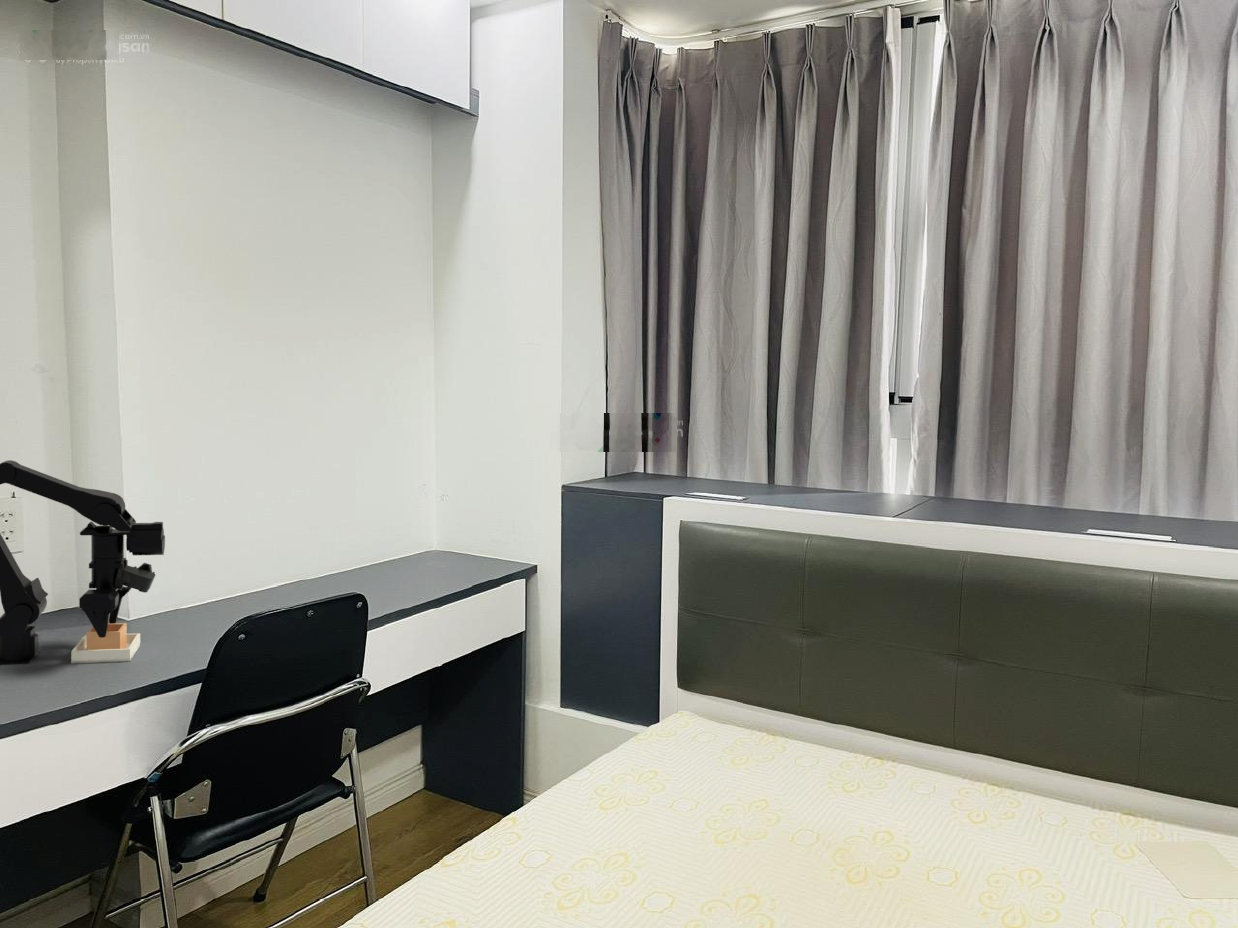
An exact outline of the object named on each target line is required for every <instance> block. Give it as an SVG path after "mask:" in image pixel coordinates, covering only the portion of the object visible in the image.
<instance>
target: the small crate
mask: <svg viewBox="0 0 1238 928" xmlns="http://www.w3.org/2000/svg"><path fill="white" fill-rule="evenodd" d="M127 625H128V623H126V622H125V623H123V622H122V623H120V622H119V623H118V622H116V623H114V624H110V623H108V628H107V633H106V637H103V638H100V637H99V636H98V634H97V632H96V631H95V629H94V627H93V625H92V626H90V628H89V630H88V631H87V632H86V635H87V650H103V649H125V648H126V646H127V634H128V633H127V631H128V630H127V629H128V628H127V627H128V626H127Z"/></svg>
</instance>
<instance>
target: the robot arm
mask: <svg viewBox="0 0 1238 928" xmlns="http://www.w3.org/2000/svg"><path fill="white" fill-rule="evenodd" d="M3 484H8V485H11V486H13V487H16V488H19V489H21V490H24V491H27V492H30V493H31V494H35V495H38V496H41V497H43V498H45V499H48V500H51V501H54V502H57V503H59V504H62V505H65V506H67V507H69V508H71V509H73V510H74V511H75V512H77V513H79V514H80V515H81V516H82V517H84V518H86V519H88V520H90V521H89V522H88V523H87V525H86V526H85V527H84V528H82V530H81V531H80V532H79V535H80V536H90V537H91V542H90V543H91V548H90V549H91V550H90V551H91V556H90V557H91V561H90V562H89V563H88V569H91V581H90V582H89V583H88V589H87V591H86V592H84V594H82V595H81V596H80V597H79V603H78V604H79V605H78V606H79V607H78V608H79V609H81V611H82V612H84V614H85V615H86V617H87V618H88V620H89V621H90V624H91V625H92V626H93V627H94V629H95V631H96V632H97V634H98V636H99V637H100V638H103V637H106V633H107V628H108V624H114V623H117V620H118V617H119V614H120V613H119V612H120V608H121V605H122V601H123V599H124V598H123V597H125V596H126V595H127V594H128V593H129V592H130V591H131V589H135V590H138V592H141V593H145V594H146V593H148V592H149V590H150V589H151V586H152V584H153V582H154V579H155V577H156V573H155V571H153V567H152V564H150V563H147V562H143V563H141V565H140V566H138V567H137V566H135V565H134V566H130V565H128V561H129V560H128V559H127V557H125V553H124V552H125V551H124V550H125V548H126V551H127V552H129V553H131V554H132V556H164V554H165V547H166V544H165V543H166V536H165V531H164V530H165V529H164V522H163V521H155V522H137V520H136V519H135V518H134V517H133V516H132V514H131V513H130V512H129V511H128V509H126V502H125V500H124V498H123V497H122V496H121V495H120V494H117V493H114V492H111V491H105V490H101V489H94V488H87V487H86V488H85V487H81V486H78V485H75V484H72V483H70V482H67V481H64V480H62V479H60V478H56V477H54V476H51V475H49V474H46V473H44V472H41V471H38V470H35V469H34V468H33V469H32V468H30V467H28V466H25V465H23V464H20V463H19V462H18V461H15V460H5V461H2V462H0V485H3ZM96 524H97V525H96ZM125 536H126V539H124V538H125ZM124 541H125V543H124ZM124 544H125V545H124ZM124 547H125V548H124ZM48 595H49V593H48V592H46V591H45V590H44V588H43V586H42V584H41V580H40V579H39V577H36V578H35V579H33V580H31V579H29V578H28V577H27V576H26V575H24V574H23V572H22V570H21V568H20V566H19V565H18V563H17V561H16V559H15V557H14V556H13V553H12V552H11V551H10V549H9V546H8V545H7V543H6V541H5V539H4V538H3V536H2V533H0V601H1V606H2V609H3V613H2V615H1V616H0V665H24V664H30V663H31V662H32V661H33V660H34V659H35V658H36V656H37V655H39V654H40V653H39V650H40V649H39V644H40V643H39V634H38V633H36V625H34V626H33V625H32V624H33V623H35V622H36V621H37V619H39V617H40V616H41V615H42V614H43V613H44V611H45V609H46V608H47V604H48V601H47V597H48Z"/></svg>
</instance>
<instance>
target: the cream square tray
mask: <svg viewBox="0 0 1238 928" xmlns="http://www.w3.org/2000/svg"><path fill="white" fill-rule="evenodd" d="M140 646H141V633H127V646H126V648H125V649H103V650H87V634H84V635H83V637H82V638H81V639H80V640H79V641H78V642H77V644H76V645H75V646H74V647H73V649H72V650H71V654H70V657H71V662H70V663H71V664H91V663H92V664H95V663H96V664H97V663H121V662H122V663H123V662H131V661H132V659H133V657H134V656H135V654H136V653H137V651H138V649H139V648H140Z"/></svg>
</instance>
